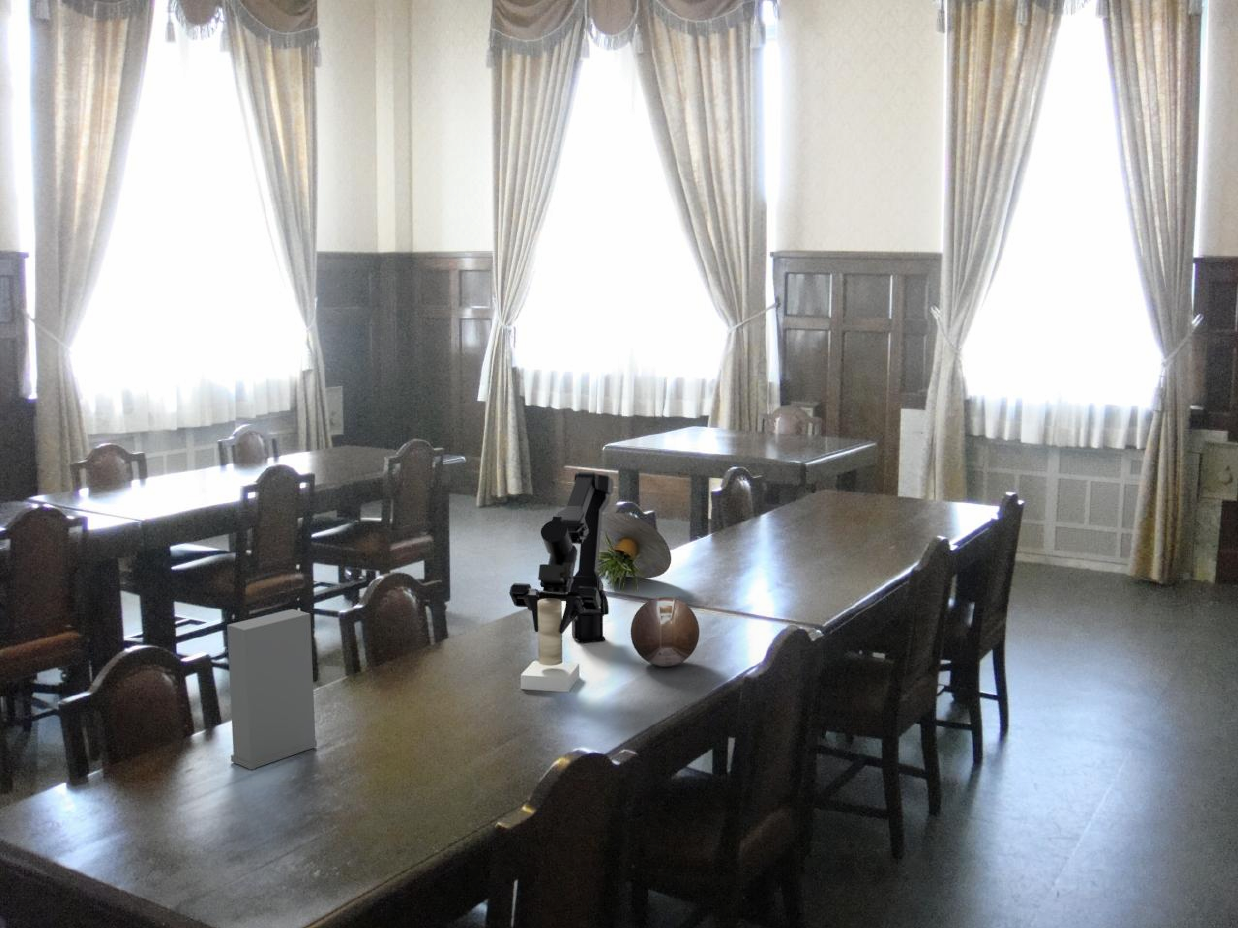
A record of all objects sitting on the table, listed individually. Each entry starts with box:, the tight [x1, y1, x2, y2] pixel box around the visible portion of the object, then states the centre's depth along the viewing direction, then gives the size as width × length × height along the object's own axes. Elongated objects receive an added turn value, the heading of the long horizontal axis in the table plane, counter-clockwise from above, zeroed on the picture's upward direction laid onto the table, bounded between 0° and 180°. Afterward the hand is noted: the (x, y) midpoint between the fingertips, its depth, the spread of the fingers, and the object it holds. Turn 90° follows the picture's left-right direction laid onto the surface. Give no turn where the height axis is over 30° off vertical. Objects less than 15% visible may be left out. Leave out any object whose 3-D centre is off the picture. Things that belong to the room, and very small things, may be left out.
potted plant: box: [598, 512, 672, 592], centre depth 342 cm, size 25×18×25 cm
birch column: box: [537, 598, 563, 666], centre depth 258 cm, size 5×5×13 cm
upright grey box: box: [226, 608, 318, 771], centre depth 219 cm, size 14×6×25 cm, turn 141°
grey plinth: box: [520, 660, 580, 693], centre depth 260 cm, size 10×10×3 cm
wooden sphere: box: [630, 596, 700, 668], centre depth 271 cm, size 15×15×15 cm
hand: (548, 632), depth 257 cm, fingers closed on birch column, 5 cm apart
